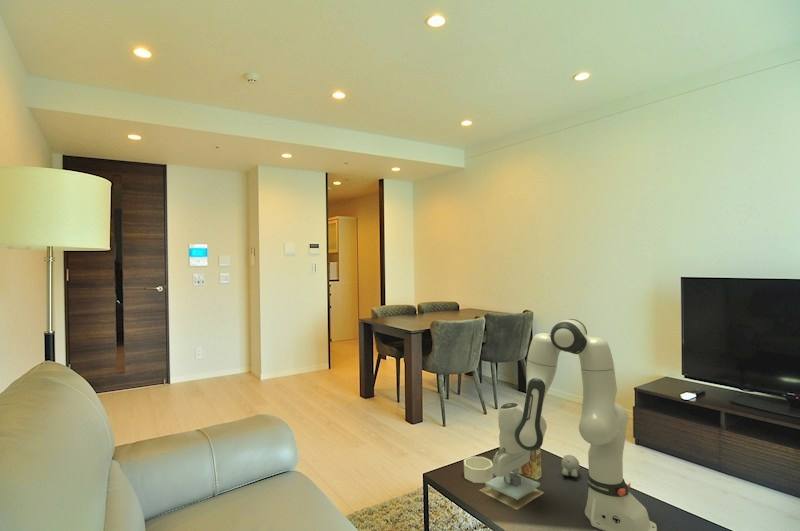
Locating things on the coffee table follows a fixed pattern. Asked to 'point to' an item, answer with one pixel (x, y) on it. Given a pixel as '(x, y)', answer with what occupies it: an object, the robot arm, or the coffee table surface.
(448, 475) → the coffee table surface
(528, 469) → the candy box
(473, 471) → the bowl
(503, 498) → the tan square mat
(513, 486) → the lid
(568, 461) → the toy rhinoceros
